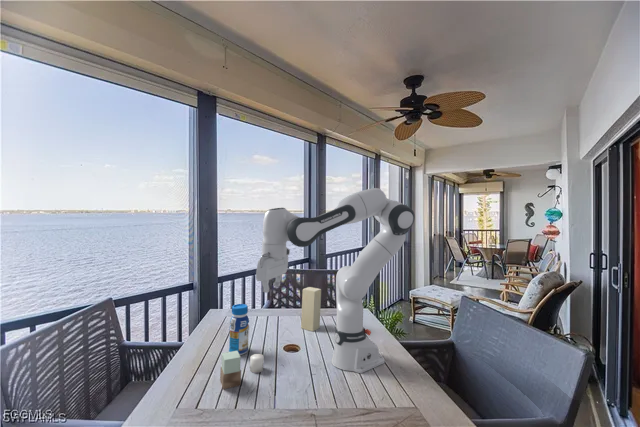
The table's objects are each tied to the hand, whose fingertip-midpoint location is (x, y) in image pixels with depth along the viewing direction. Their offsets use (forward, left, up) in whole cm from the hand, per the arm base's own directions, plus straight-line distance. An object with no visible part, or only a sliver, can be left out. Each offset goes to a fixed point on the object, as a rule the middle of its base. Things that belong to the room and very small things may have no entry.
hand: (271, 289), depth 110 cm
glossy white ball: (+2, -9, -33) cm, 35 cm away
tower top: (+13, -4, -28) cm, 31 cm away
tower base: (+13, -4, -33) cm, 36 cm away
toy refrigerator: (-36, -39, -33) cm, 63 cm away
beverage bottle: (+5, -27, -33) cm, 43 cm away
